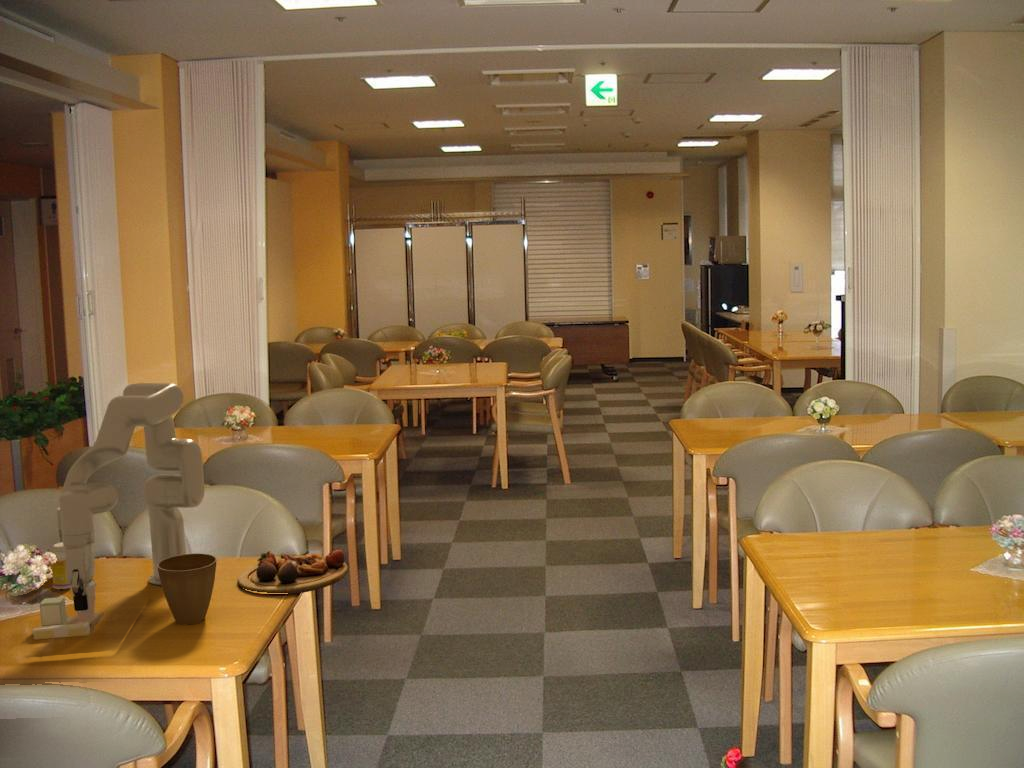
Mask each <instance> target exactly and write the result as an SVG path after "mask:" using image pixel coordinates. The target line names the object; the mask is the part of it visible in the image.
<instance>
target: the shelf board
mask: <svg viewBox="0 0 1024 768" xmlns="http://www.w3.org/2000/svg"><path fill="white" fill-rule="evenodd" d="M104 614H105V612H98V613H94V619H93V620H91V621H87V622H80V621H79V619H78V615H77V614H72V615H70V614H69V615H66V617H67V623H66V625H67V624H80V623H89V624H90V633H91V632H92V630H93V629H95V627H96V625H97V624H98V622H99V621H100V620H101V618H103V616H104ZM58 638H59V639H60V638H61V637H58ZM33 639H34V638H33ZM35 640H36V639H34V641H35Z"/></svg>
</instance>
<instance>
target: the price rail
mask: <svg viewBox="0 0 1024 768" xmlns="http://www.w3.org/2000/svg"><path fill="white" fill-rule="evenodd" d="M32 633H33V639H35V640H46V639H57V638H58V637H60V638H68V637H69V638H70V637H71V638H72V637H84V636H89V635H90V633H91V632H90V624H89V623H80V624H67V625H54V626H42V625H41V626H35V627H34V629H33V630H32Z"/></svg>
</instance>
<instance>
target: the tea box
mask: <svg viewBox="0 0 1024 768" xmlns="http://www.w3.org/2000/svg"><path fill="white" fill-rule="evenodd" d="M39 610H40V612H39V613H40V619H41V627H42V626H54V625H66V623H67V617H66V616H67V607H66V597H65V596H61V597H47V598H43V600H42V601H40V603H39Z"/></svg>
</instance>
